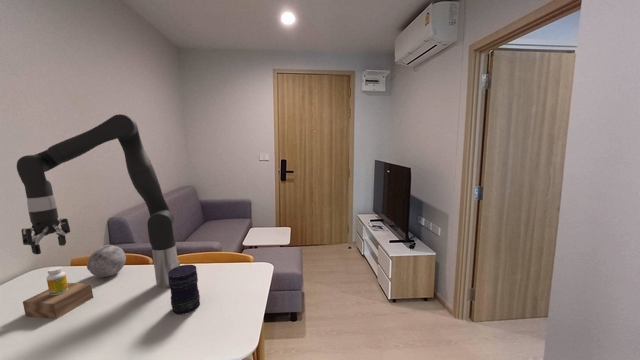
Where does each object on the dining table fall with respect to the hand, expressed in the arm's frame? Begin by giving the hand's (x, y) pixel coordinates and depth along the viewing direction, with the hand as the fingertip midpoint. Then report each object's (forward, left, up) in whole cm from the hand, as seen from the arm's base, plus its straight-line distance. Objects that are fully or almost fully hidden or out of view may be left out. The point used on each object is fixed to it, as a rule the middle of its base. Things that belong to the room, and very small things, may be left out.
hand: (50, 249), depth 106 cm
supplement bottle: (0, 0, -18) cm, 18 cm away
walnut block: (0, 0, -24) cm, 24 cm away
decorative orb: (+4, -25, -24) cm, 35 cm away
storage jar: (-51, -5, -24) cm, 57 cm away
